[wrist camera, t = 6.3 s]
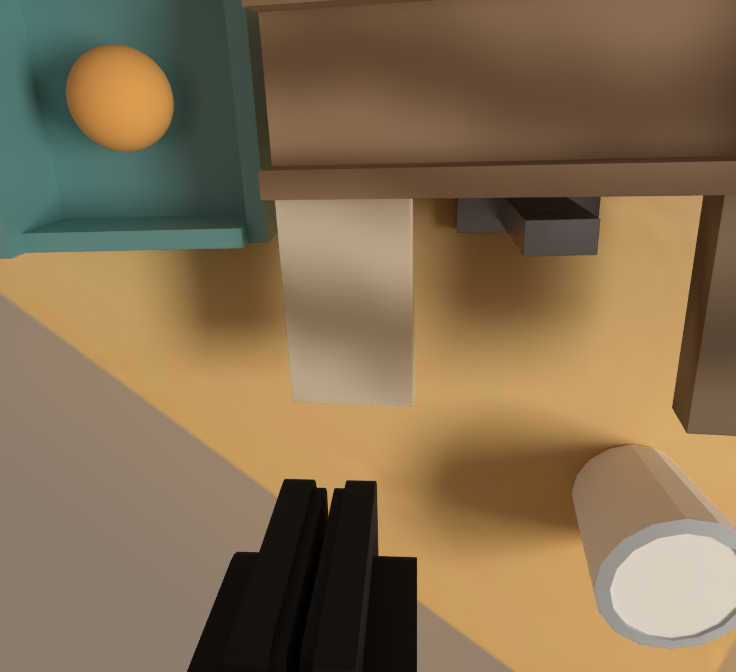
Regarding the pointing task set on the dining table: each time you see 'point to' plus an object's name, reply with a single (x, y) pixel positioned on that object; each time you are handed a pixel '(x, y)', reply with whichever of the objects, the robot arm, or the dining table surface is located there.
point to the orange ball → (119, 98)
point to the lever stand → (535, 222)
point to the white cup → (655, 549)
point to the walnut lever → (487, 159)
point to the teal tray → (143, 167)
